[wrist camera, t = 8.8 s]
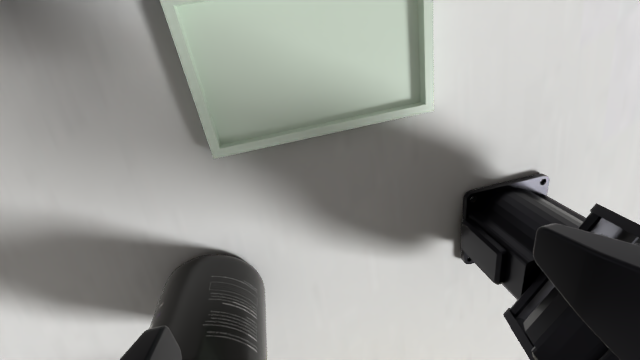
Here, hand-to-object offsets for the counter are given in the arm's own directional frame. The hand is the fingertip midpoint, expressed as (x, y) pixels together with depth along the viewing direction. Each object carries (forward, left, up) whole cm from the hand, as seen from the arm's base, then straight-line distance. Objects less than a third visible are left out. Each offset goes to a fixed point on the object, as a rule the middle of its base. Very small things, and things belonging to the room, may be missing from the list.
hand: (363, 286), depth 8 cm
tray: (-2, -4, -13) cm, 14 cm away
